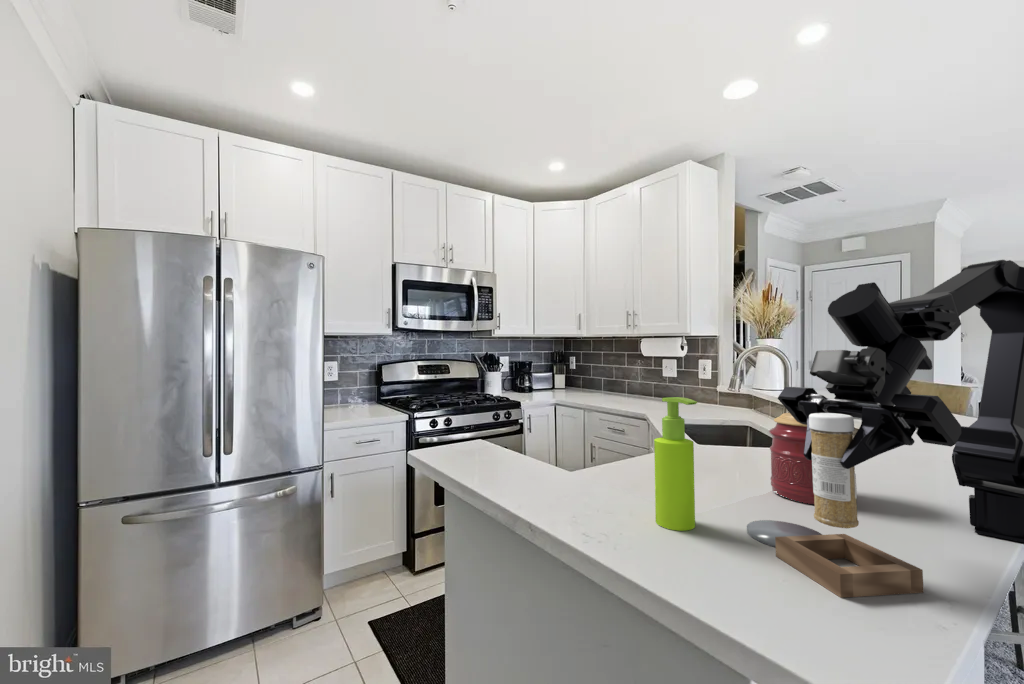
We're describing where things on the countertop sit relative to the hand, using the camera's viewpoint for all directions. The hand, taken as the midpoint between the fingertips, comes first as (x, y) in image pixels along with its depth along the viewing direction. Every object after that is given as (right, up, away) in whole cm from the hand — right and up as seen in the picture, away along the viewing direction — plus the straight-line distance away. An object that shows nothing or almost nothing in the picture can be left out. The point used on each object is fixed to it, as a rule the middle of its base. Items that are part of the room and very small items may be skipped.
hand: (824, 461), depth 54 cm
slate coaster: (+1, -14, +9) cm, 17 cm away
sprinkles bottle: (+1, -8, 0) cm, 8 cm away
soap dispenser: (-13, -14, +14) cm, 24 cm away
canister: (+18, -15, +28) cm, 37 cm away
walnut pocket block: (+1, -13, -1) cm, 13 cm away
